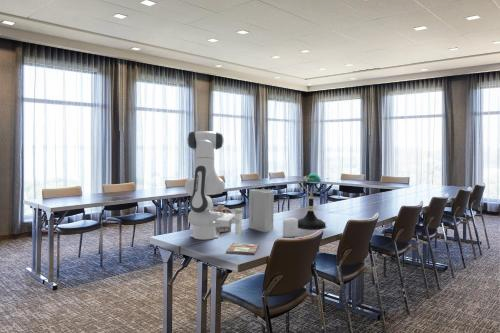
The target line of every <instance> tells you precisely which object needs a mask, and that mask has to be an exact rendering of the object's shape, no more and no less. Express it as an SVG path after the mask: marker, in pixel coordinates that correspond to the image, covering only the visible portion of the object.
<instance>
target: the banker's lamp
mask: <svg viewBox="0 0 500 333" xmlns="http://www.w3.org/2000/svg"><path fill="white" fill-rule="evenodd" d="M305 180H306V182H307V183H322V178H321V177H320V175H318V173H316V172H311V173H309V175H305V176H304V177H303V179H302V180H301V181H300V185H301V187H303V188H304V189H305V190H306V191H307V192H308V194H309V196H308V209H307V212H306V214H305V215H304V217H302V218H299V219H297V220H298V229H303V230H304V229H305V230H322V228H323V229H325V228H326V227H327V226H326V221H323V220H322V219H319V218H318V217H317V216H316V215H315V212H314V209H313V208H314V196H313V193H312V192H310V191H309V190H308V189H307V187H305V186H304V185H303V182H304V181H305Z"/></svg>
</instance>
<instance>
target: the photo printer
mask: <svg viewBox="0 0 500 333" xmlns="http://www.w3.org/2000/svg"><path fill="white" fill-rule="evenodd" d="M298 220H299V219H297V218H294V217H287V218H285V219H284V220H283V221H282V222H283V223H282V238H291V237H292V238H293V237H298V233H299V232H298V229H299V227H298Z"/></svg>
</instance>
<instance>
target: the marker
mask: <svg viewBox="0 0 500 333" xmlns="http://www.w3.org/2000/svg"><path fill="white" fill-rule="evenodd" d="M234 214H235V215H236V220H240V222H239V223H234V224H235V225H234V226H235V227H234V228H235V232H234V234H235V235H242V230H243V228H242V226H243V225H242V224H243V218H242V217H243V216H242V215H243V209H242V208H235V213H234Z"/></svg>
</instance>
